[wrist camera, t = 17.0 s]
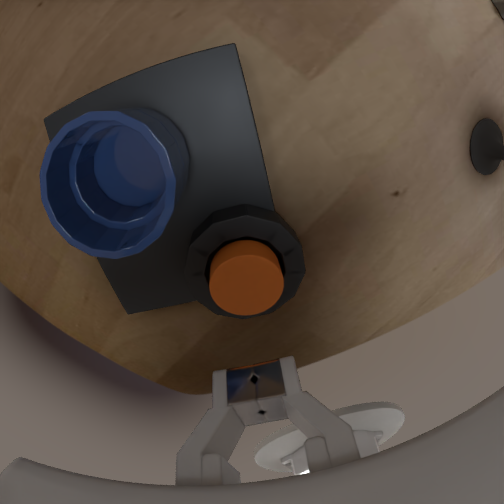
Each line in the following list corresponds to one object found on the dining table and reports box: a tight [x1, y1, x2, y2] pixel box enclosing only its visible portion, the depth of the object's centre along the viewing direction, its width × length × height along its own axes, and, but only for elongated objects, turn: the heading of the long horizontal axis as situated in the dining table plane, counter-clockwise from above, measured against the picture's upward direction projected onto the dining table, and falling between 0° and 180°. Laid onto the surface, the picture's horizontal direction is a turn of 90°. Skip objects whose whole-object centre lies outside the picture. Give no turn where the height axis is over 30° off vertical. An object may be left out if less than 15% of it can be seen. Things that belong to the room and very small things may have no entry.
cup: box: [40, 107, 190, 259], centre depth 12 cm, size 6×6×5 cm
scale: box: [44, 43, 305, 319], centre depth 16 cm, size 16×13×3 cm
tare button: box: [209, 240, 284, 315], centre depth 16 cm, size 4×4×2 cm
